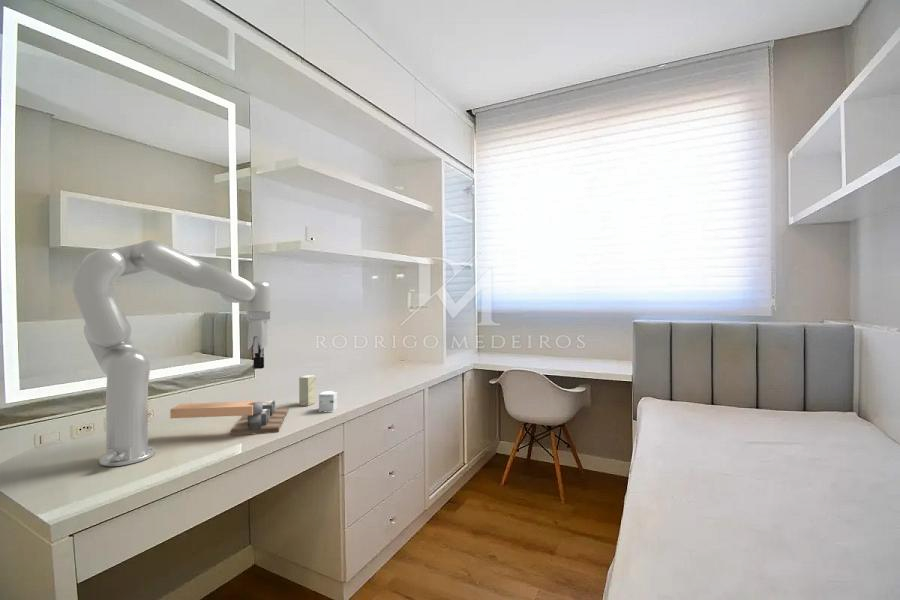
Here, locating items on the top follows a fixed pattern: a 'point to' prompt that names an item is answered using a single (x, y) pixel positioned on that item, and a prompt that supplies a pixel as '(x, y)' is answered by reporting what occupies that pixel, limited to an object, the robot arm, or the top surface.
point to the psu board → (268, 428)
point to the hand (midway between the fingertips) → (258, 368)
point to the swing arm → (216, 409)
